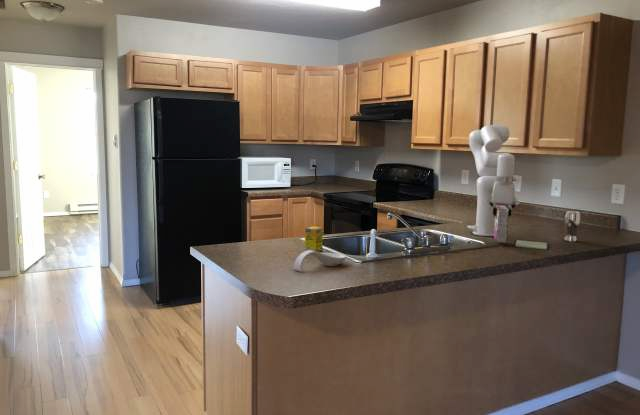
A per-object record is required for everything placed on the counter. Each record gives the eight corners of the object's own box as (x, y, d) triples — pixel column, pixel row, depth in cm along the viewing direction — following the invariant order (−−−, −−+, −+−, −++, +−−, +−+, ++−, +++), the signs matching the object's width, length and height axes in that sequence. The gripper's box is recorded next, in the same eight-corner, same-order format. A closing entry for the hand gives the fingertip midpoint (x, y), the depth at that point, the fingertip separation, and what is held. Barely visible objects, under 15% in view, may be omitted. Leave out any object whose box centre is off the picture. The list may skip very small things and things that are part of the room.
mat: (515, 246, 247) (515, 245, 247) (516, 241, 260) (516, 240, 260) (546, 249, 242) (546, 248, 241) (546, 244, 254) (547, 242, 254)
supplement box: (315, 254, 224) (316, 229, 222) (304, 252, 227) (304, 228, 225) (322, 251, 229) (323, 227, 227) (311, 249, 232) (312, 226, 230)
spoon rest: (331, 259, 215) (331, 242, 214) (351, 265, 206) (352, 247, 205) (287, 268, 199) (287, 250, 198) (307, 275, 191) (307, 256, 190)
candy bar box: (492, 237, 257) (495, 205, 255) (503, 238, 256) (506, 205, 254) (495, 242, 247) (498, 209, 244) (506, 243, 246) (509, 209, 243)
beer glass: (571, 242, 259) (574, 213, 257) (559, 240, 265) (562, 211, 263) (580, 241, 262) (583, 212, 260) (568, 239, 268) (571, 210, 266)
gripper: (524, 180, 246) (520, 217, 250) (486, 178, 253) (484, 213, 256) (523, 181, 240) (520, 219, 243) (485, 179, 247) (482, 216, 250)
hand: (501, 216), depth 250 cm, fingers closed on candy bar box, 5 cm apart
